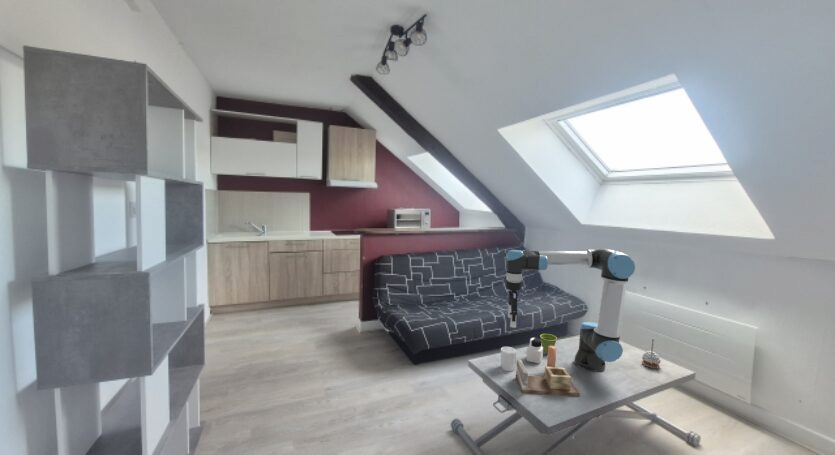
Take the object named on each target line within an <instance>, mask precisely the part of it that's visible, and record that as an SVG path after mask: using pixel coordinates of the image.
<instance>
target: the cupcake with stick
mask: <svg viewBox="0 0 835 455" xmlns="http://www.w3.org/2000/svg"><path fill="white" fill-rule="evenodd" d="M654 343H655V339H654V338H651V348H650V350H647V351H645V352H643V353H642V360H641V363H642V364H643V366H646V367H648V368H652V369H659V368H660V367H661V366H660V363H661V361H662V360H661V358H660V355H659V354H658V353H657V352H655V351H654Z"/></svg>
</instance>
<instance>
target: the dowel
mask: <svg viewBox="0 0 835 455" xmlns="http://www.w3.org/2000/svg"><path fill="white" fill-rule="evenodd" d="M556 359H557V347H556V346H548V353H547V359H546V360H547V361H546V367H556V364H557V363H556V361H557V360H556Z"/></svg>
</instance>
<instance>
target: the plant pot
mask: <svg viewBox="0 0 835 455" xmlns="http://www.w3.org/2000/svg"><path fill="white" fill-rule="evenodd" d="M539 338H540V340H541V347H543V353H546V354H548V346H555V345H556V342H557V340H558V338H557V336H556V335H553V334H549V333H542V334H540V335H539ZM555 347H556V346H555Z"/></svg>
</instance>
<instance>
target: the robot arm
mask: <svg viewBox="0 0 835 455" xmlns="http://www.w3.org/2000/svg"><path fill="white" fill-rule="evenodd" d="M549 266H580V267H582V266H585V267H586V268H589V269H590V268H592V269H597V270H600V271H601V273H600V274H601V275H600V277H601V279H602V280H603V286H602V292H601V298H600V299H601V300H600V306H599V313H598V321H597V322H593V321H592V322H591V321H583V322H581V323H580V326H579V338H578V341H579V343H578V349H577V351H576V354H575V355H574V359H573V360H574V361H573V362H574V364H575V365H576V366H578V367H579V368H581V369H584V370H585V371H586V370H587V371H591V372H602V371H604V370H606V362H607V363H612V362H616V361H617V360H619V359H620V358H621V357H622V356H623V352H624V348H623V346H622V344H621V343H620V339H621V335H620V333H619V332H618V328H619V327H618V326H619V319H620V315H621V314H620V313H621V306H622V299H623V293H624V285H625V284H626V283H628V282H629V278H630V277H632V275H634V273H635V270H636V264H635V261H634V259H633V258H632V257H631V256H630V255H628V254H626V253H624V252H621V251H617V250H614V249H610V248H609V249H608V248H597V249H596V248H595V249H593V248H592V249H589V248H588V249H585V250H584V251H582V250H577V251H576V250H575V251H573V250H530V249H523V250H520V249H509V250H508V251H507V255H506V273H505V274H504V276H505V277H506V281H505V288H506V289H507V290H509V291H508V301H507V302H508V303H507V304H508V310H507V311H508V312H507V318H508V319H510V322H509V323H510V324H509V327H510V328H514V329H516V328H517V317H518V316H517V315H518V292H517V291H521V290H522V285H523V283H522V281H523V271H524V270H525V271H526V270H527V271H546V270H547V269H548V267H549Z"/></svg>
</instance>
